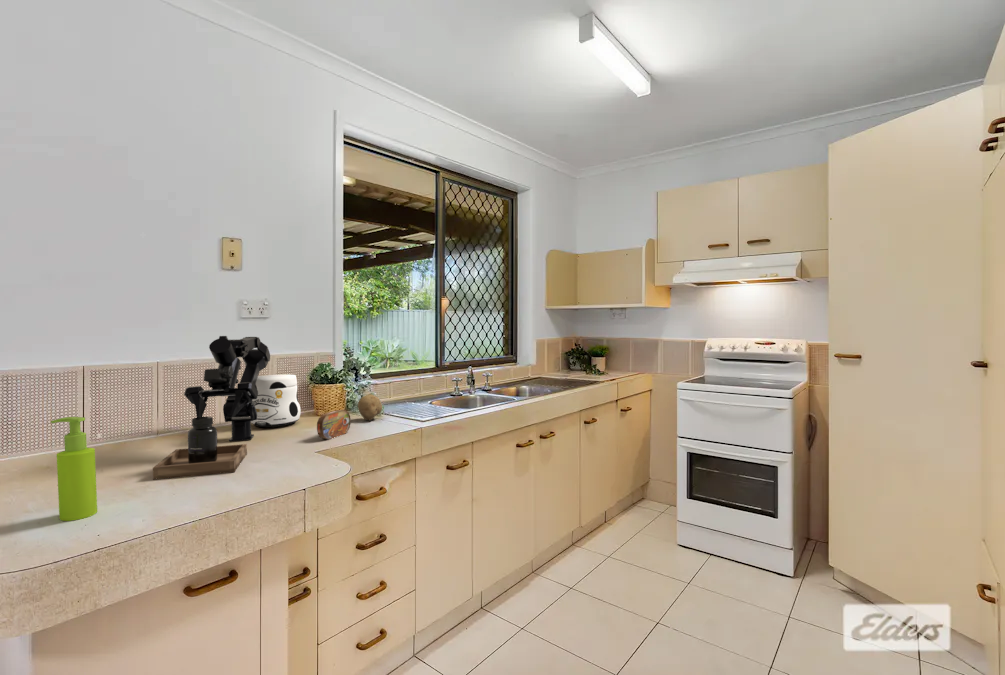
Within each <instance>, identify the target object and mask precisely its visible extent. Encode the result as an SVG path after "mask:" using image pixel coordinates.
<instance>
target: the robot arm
mask: <svg viewBox="0 0 1005 675" xmlns="http://www.w3.org/2000/svg"><path fill="white" fill-rule="evenodd" d="M208 346H209V347H208V348H209V351H210V353H211V354H212V357H213V358H214V361H215V363H217V364H218V367H217V368H210V369H209V368H206V369H205V370H204V372H203V374H204V375H203V381H204V382H207V383H208V384H207V385H208V387H209V388H211V389H204V387H202V386H201V385H198V386H188V387H186V389H185V390H184V393H183V395H184V396H185V397H186V399H187V400H188V401H189V402H190V403H191V404H192V405H194V408H195V413H196V418H197V417H203V415H204V413H205V411H206V408H207V405H208V404H207V402H208V400H209V398H214V397H227V398H226V400H225V402H224V403H223V407H222V411H223V412H222V413H223V418H224V423H230V422H231V425H230V426H231V437H230V438H229V439H228V441H229V442H240V441H241V442H242V441H251V440H252V439H253V438H254V436H255V434H253V433H252V423H251V421H254V420H257V411H256V408H255V406H254V403H253V401H252V400H253V399H257V396H258V390H257V389H256V387H255V384H256V381H257V378H258V376H260V375H259V374H260V372H261V371H262V370H264V369H265V368H267V366H268V364H269V362H270V361H271V353H270V351H269V347H268V345H266V344H265V343H263V342H262V341H261V339H260V337H258V336H245V337H243V338H240V339H229V338H228V336H227V335H219V337H218V338H217V339H214V340H212V342H211V343H209V345H208ZM240 358H242V361H243V362H244V365H245V367H244V370H243V373H242V375H241V379H240V381H239V378H238V375H239V371H240V370H241V369H242V366H241V364H242V361H241V359H240ZM236 384H237V385H236Z"/></svg>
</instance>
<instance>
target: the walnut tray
mask: <svg viewBox="0 0 1005 675" xmlns="http://www.w3.org/2000/svg"><path fill="white" fill-rule="evenodd" d="M247 446H248V444H247V443H243V444H229V445H217V460H216V461H214V462H202V463H191V464H189V462H188V448H178V449H174V450H173V451H172V452H171V453H170V454H168V455H166V457H164V458H163V459H162V460H160V461H159V462H158V463H157V464H155V465H154V466H152V479H153V481H154V480H164V479H176V478H186V477H197V476H198V477H200V476H209V475H220V474H231V473H235V472H236V471H237V470H238V468H239V466H240V465H241V464H242V462H243V460H244V459H245V458H246V457H247V455H248V447H247ZM240 463H241V464H240Z"/></svg>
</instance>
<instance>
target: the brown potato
mask: <svg viewBox="0 0 1005 675" xmlns="http://www.w3.org/2000/svg"><path fill="white" fill-rule="evenodd" d="M357 409H358V412H359V414H360V415H361V417H362V418H364V420H366V421H372V420H373V419H374V418H375V417H376V416H378V415H379V414H381V412H382V411H383V404H382V402H381V400H380V398H379V397H377V396H376V395H374V394H370V393H369V394H366V395H363V396H362V397H361V398H360V399H359V400H358V403H357Z"/></svg>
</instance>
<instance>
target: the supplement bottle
mask: <svg viewBox="0 0 1005 675" xmlns="http://www.w3.org/2000/svg"><path fill="white" fill-rule="evenodd" d="M213 425H214V419H213V416H202V417H197V416H196V417H193V418H192V419H191V426H192V428H190V429H189V430H188V432H187V449H188V462H189V464H191V463H202V462H214V461H216V460H217V446H218V429H217V428H216V427H215V426H213Z"/></svg>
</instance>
